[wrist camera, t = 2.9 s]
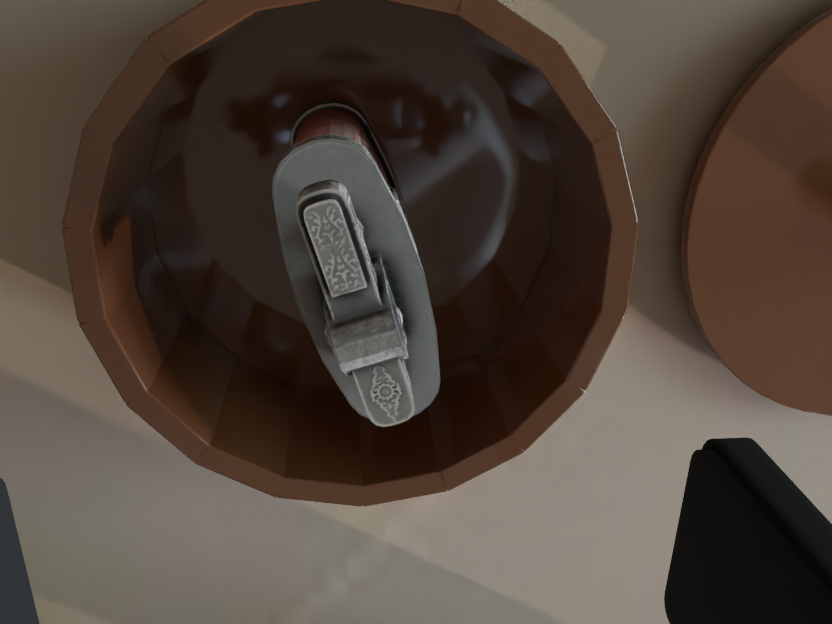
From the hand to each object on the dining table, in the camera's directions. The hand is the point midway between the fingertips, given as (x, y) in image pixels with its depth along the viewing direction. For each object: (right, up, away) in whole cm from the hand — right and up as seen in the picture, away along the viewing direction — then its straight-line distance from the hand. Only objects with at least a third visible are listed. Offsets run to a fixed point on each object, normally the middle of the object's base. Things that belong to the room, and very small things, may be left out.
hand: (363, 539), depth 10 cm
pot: (-1, +7, +16) cm, 18 cm away
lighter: (-1, +7, +16) cm, 17 cm away
